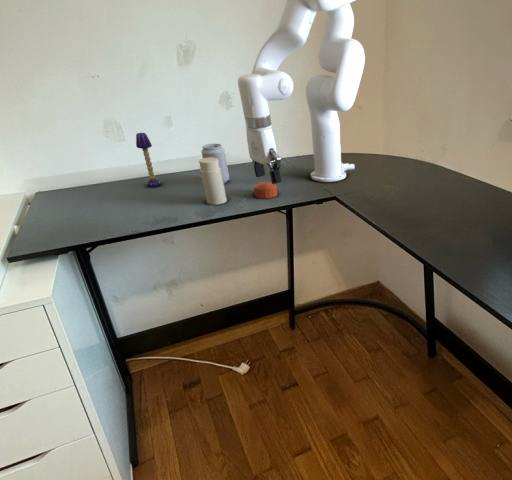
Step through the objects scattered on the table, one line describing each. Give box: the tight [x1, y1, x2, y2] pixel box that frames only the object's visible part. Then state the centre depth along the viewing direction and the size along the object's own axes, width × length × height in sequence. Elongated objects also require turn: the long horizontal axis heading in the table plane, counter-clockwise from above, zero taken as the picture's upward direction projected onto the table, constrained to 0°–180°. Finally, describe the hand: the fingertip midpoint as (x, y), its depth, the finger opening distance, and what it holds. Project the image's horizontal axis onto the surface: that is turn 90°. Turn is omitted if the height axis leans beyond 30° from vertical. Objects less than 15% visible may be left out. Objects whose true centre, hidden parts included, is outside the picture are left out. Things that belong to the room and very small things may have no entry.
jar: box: [198, 157, 228, 206], centre depth 144 cm, size 6×6×13 cm
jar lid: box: [253, 181, 278, 199], centre depth 151 cm, size 7×7×3 cm
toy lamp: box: [135, 132, 162, 188], centre depth 155 cm, size 5×5×17 cm
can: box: [200, 143, 230, 184], centre depth 160 cm, size 8×8×12 cm
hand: (268, 179), depth 150 cm, fingers open, 9 cm apart
